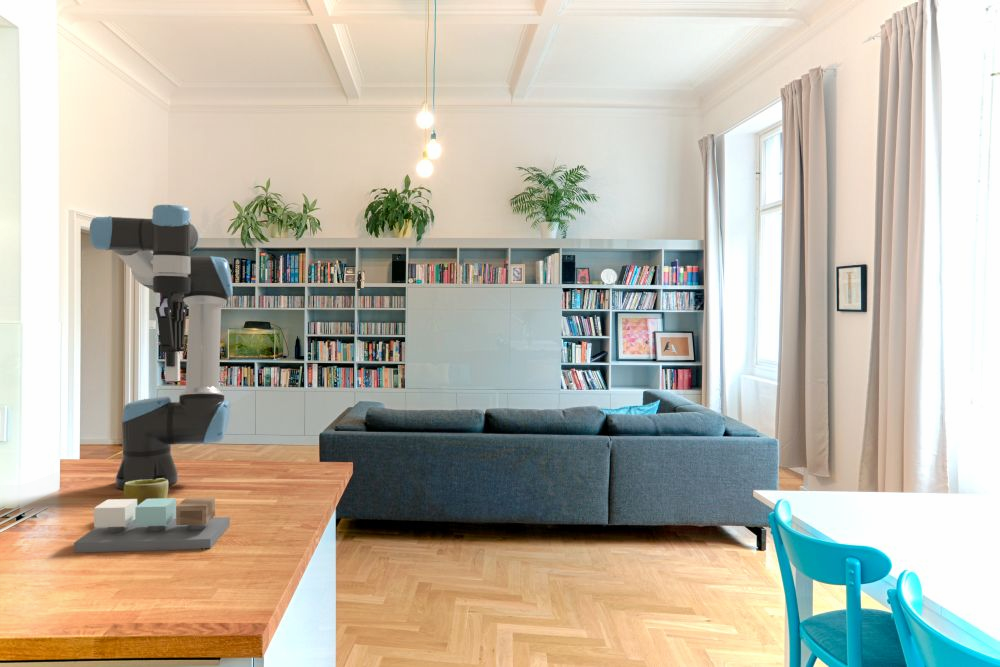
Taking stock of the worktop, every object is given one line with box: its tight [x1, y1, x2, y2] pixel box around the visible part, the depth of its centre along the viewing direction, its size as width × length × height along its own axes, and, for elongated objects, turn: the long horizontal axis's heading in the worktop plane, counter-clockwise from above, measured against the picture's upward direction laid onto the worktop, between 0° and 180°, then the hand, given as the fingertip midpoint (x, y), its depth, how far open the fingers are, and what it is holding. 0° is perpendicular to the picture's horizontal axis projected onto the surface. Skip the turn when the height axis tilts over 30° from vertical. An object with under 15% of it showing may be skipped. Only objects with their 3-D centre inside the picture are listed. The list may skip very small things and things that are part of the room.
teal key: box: [135, 497, 177, 526], centre depth 141 cm, size 6×6×4 cm
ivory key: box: [93, 498, 137, 528], centre depth 140 cm, size 6×6×4 cm
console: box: [73, 516, 231, 553], centre depth 142 cm, size 14×26×5 cm, turn 97°
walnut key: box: [175, 496, 216, 525], centre depth 142 cm, size 6×6×4 cm
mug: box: [123, 478, 169, 506], centre depth 158 cm, size 12×10×10 cm
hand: (172, 380), depth 150 cm, fingers closed
